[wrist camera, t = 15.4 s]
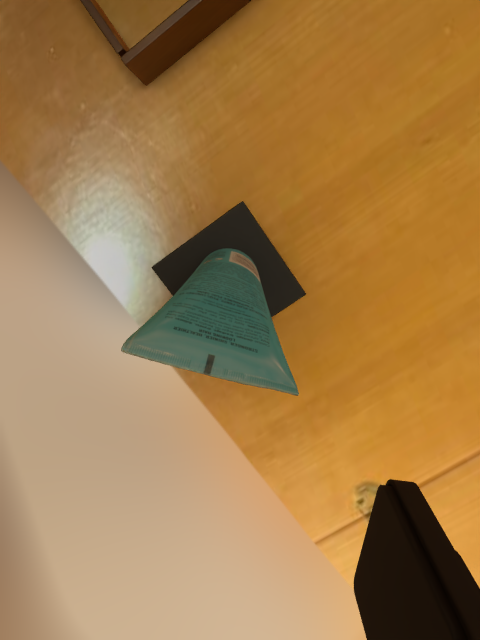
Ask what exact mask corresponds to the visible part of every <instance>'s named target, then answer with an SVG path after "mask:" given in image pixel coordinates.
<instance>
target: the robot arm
mask: <svg viewBox="0 0 480 640" xmlns="http://www.w3.org/2000/svg"><path fill="white" fill-rule="evenodd" d="M354 593H355V597H356V601H357V604H358V608H359V612H360V615H361V619H362V623H363V626H364V630H365V633H366V638H367V640H480V588H479V587H478V585H477V583H476V582H475V580H474V578H473V576H472V575H471V573H470V571H469V570H468V568H467V566H466V564H465V563H464V561H463V559H462V558H461V556H460V555H459V554H458V552H457V551H455V550H454V548H453V546H452V545H451V543H450V541H449V539H448V538H447V536H446V534H445V532H444V531H443V529H442V527H441V525H440V524H439V522H438V520H437V518H436V517H435V515H434V513H433V511H432V510H431V508H430V506H429V505H428V503H427V501H426V499H425V498H424V496H423V494H422V492H421V491H420V489H419V487H418V486H417V484H416V483H414V482H407V481H399V480H391V479H390V480H388V481H387V483H386V485H380V486H379V487H378V490H377V494H376V497H375V501H374V505H373V509H372V512H371V516H370V520H369V524H368V527H367V531H366V535H365V539H364V542H363V546H362V550H361V554H360V557H359V561H358V565H357V569H356V572H355V577H354Z"/></svg>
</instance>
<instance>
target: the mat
mask: <svg viewBox="0 0 480 640" xmlns="http://www.w3.org/2000/svg"><path fill="white" fill-rule="evenodd" d="M225 248H231V249H236V250H239V251H241V252H243V253H245V254H246V255H247V256H249V257H250V258H251V260H252V261H253V262H254V264H255V266H256V268H257V271H258V274H259V278H260V281H261V285H262V288H263V292H264V295H265V299H266V302H267V306H268V309H269V312H270V315H271V317H273V316H274V315H276V314H277V313H279V312H280V311H282V310H283V309H285V308H286V307H288V306H289V305H291V304H292V303H294V302H295V301H297V300H298V299H300V298H301V297H303V296H304V295H306V293H305V292H304V290H303V289H302V287H301V286H300V284H299V283H298V281H297V280H296V278H295V277H294V276H293V274H292V273H291V271H290V270H289V268H288V267H287V265H286V264H285V262H284V261H283V259H282V258H281V256H280V255H279V253H278V252H277V251H276V249H275V248H274V246H273V245H272V243H271V242H270V240H269V239H268V237H267V236H266V234H265V233H264V231H263V230H262V229H261V227H260V226H259V224H258V223H257V221H256V220H255V218H254V217H253V215H252V214H251V212H250V211H249V209H248V208H247V206H246V205H245V204H244V202H243V201H242V202H241V203H239V204H238V205H237V206H235V207H234V208H232V209H231V210H230V211H228V212H227V213H226V214H224V215H223V216H221V217H220V218H219V219H217V220H216V221H215V222H213V223H212V224H210V225H209V226H208V227H206V228H205V229H204V230H202V231H201V232H199V233H198V234H197V235H195V236H194V237H192V238H191V239H190V240H188V241H187V242H186V243H184V244H183V245H181V246H180V247H179V248H177V249H176V250H175V251H173V252H172V253H170V254H169V255H168V256H166V257H165V258H164V259H162V260H161V261H159V262H158V263H157V264H155V265H154V266H153V267H152V269H153V270H154V271H155V273H156V274H157V275H158V277H159V278H160V279H161V281H162V282H163V283H164V285H165V286H166V287H167V289H168V290H169V291H170V292H171V294H172V295H173V296H174V295H175V293H176V292H177V291H178V290H179V289H180V288H181V287H182V286H183V285H184V283H185V282H186V281H187V280H188V279H189V278H190V276H191V275H192V274H193V273H194V272H195V270H196V269H197V268H198V267H199V265H200V264H201V263H202V261H203V260H204V259H205V258H206V257H207V256H208V255H209V254H211V253H212V252H214V251H216V250H220V249H225Z"/></svg>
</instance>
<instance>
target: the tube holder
mask: <svg viewBox="0 0 480 640" xmlns="http://www.w3.org/2000/svg"><path fill="white" fill-rule="evenodd" d="M80 1H81V2H82V4H83V5H84V6H85V8H86V9H87V11H88V12H89V14H90V15H91V16H92V18H93V19H94V21H95V22H96V24H97V25H98V27H99V28H100V29H101V31H102V32H103V34H104V35H105V37H106V38H107V40H108V41H109V42H110V44H111V45H112V47H113V48H114V50H115V51H116V53H117V54H118V55H119V56H120V57H121V60H122V61H123V63H124V64H125V65H126V66H127V67H128V68H129V69H130V70H131V71H132V72H133V73H134V74H135V75H136V76H137V77H138V78H139V79H140V80H141V81H142V82H143V83H144V84H145V85H146V86H147V85H148V84H149V83H150V82H152V81H153V80H154V79H155V78H157V77H158V76H159V75H160V74H161V73H163V72H164V71H165V70H166V69H168V68H169V67H170V66H171V65H172V64H174V63H175V62H176V61H177V60H179V59H180V58H181V57H182V56H183V55H185V54H186V53H187V52H188V51H190V50H191V49H192V48H193V47H194V46H196V45H197V44H198V43H199V42H201V41H202V40H203V39H204V38H206V37H207V36H208V35H209V34H210V33H212V32H213V31H214V30H215V29H217V28H218V27H219V26H220V25H221V24H223V23H224V22H225V21H226V20H228V19H229V18H230V17H231V16H232V15H234V14H235V13H236V12H237V11H239V10H240V9H241V8H242V7H243V6H245V5H246V4H247V3H248V2H250V1H251V0H188V1H187V2H186V3H185V4H184V5H182V6H181V7H180V8H179V9H178V10H177V11H175V12H174V13H173V14H172V15H171V16H169V17H168V18H167V19H166V20H165V21H163V22H162V23H161V24H160V25H159V26H157V27H156V28H155V29H154V30H153V31H152V32H150V33H149V34H148V35H147V36H146V37H144V38H143V39H142V40H141V41H140V42H138V43H137V44H136V45H135V46H134V47H133V48H131V49H130V50H129V48H128V47H127V45H126V44H125V42H124V41H123V40H122V38H121V37H120V35H119V34H118V32H117V31H116V29H115V28H114V26H113V25H112V23H111V22H110V21H109V19H108V18H107V16H106V15H105V13H104V12H103V10H102V9H101V7H100V6H99V5H98V3H97V2H96V0H80Z"/></svg>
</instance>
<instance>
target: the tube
mask: <svg viewBox="0 0 480 640" xmlns="http://www.w3.org/2000/svg"><path fill="white" fill-rule="evenodd" d="M121 351H122V352H125V353H127V354H131V355H134V356H138V357H141V358H145V359H148V360H151V361H155V362H159V363H162V364H166V365H170V366H174V367H177V368H181V369H186V370H190V371H193V372H197V373H201V374H205V375H209V376H212V377H216V378H220V379H225V380H228V381H233V382H237V383H241V384H245V385H251V386H256V387H261V388H268V389H273V390H277V391H281V392H285V393H289V394H292V395H296V396H298V395H299V393H298V389H297V386H296V383H295V381H294V378H293V376H292V373H291V371H290V369H289V366H288V364H287V361H286V359H285V356H284V353H283V351H282V348H281V345H280V342H279V339H278V336H277V333H276V331H275V328H274V325H273V322H272V318H271V315H270V312H269V309H268V306H267V302H266V299H265V295H264V292H263V288H262V285H261V281H260V278H259V274H258V271H257V268H256V266H255V264H254V262H253V261H252V260H251V258H250V257H249V256H247V255H246V254H245V253H243V252H241V251H239V250H236V249H231V248H225V249H220V250H216V251H214V252H212V253H211V254H209V255H208V256H207V257H206V258H205V259H204V260H203V261H202V263H201V264H200V265H199V267H198V268H197V269H196V270H195V272H194V273H193V274H192V275H191V276H190V278H189V279H188V280H187V281H186V282H185V283H184V285H183V286H182V287H181V288H180V289H179V290H178V291H177V292H176V293H175V295H174V296H173V297H172V298H171V299H170V300H169V301H168V302H167V303H166V304H165V305H164V306H163V307H162V308H161V309H160V310H159V311H158V312H157V313H156V314H155V315H153V316H152V317H151V318H150V319H149V320H148V321H147V322H146V323H145V324H144V325H143V326H142V327H140V328H139V329H138V330H137V331H136V332H135V333H134V334H132V335H131V336H130V337H129V338H128V339H127V340H126V342H125V343H124V344H123V346H122V348H121Z"/></svg>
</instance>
